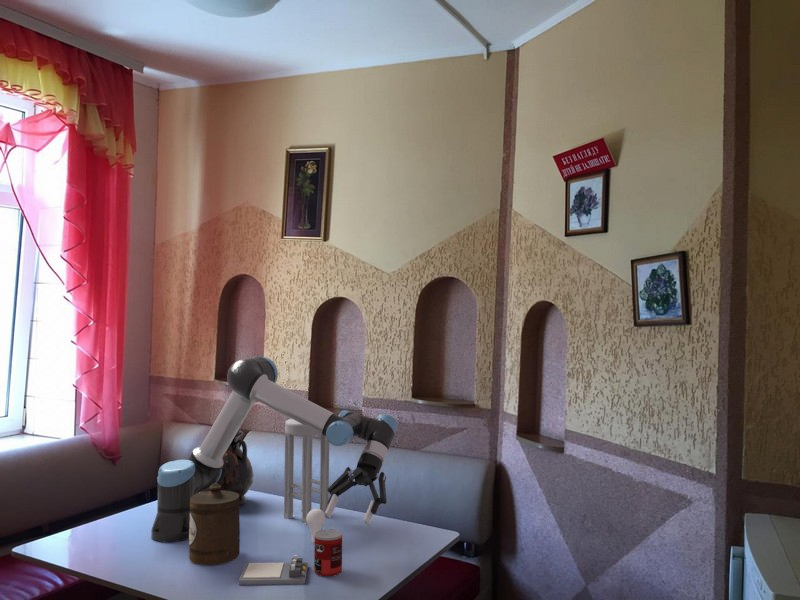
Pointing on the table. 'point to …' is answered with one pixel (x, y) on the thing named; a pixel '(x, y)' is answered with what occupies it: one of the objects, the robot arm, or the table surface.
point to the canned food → (328, 552)
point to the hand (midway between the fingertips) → (346, 519)
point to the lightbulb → (315, 521)
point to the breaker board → (275, 573)
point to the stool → (304, 470)
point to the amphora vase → (236, 470)
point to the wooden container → (214, 527)
